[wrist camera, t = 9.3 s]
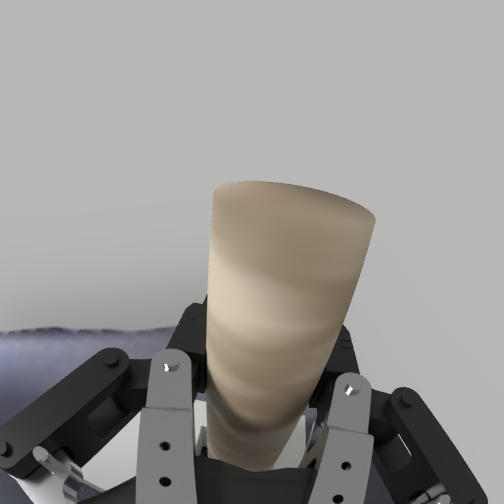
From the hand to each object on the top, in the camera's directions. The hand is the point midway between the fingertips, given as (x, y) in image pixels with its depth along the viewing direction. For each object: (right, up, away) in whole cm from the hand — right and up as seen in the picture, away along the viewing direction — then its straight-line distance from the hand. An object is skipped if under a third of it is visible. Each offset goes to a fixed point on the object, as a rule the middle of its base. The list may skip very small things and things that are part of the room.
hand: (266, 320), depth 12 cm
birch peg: (-1, -9, +1) cm, 9 cm away
